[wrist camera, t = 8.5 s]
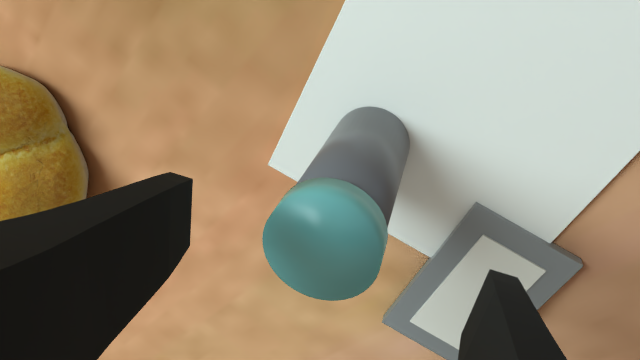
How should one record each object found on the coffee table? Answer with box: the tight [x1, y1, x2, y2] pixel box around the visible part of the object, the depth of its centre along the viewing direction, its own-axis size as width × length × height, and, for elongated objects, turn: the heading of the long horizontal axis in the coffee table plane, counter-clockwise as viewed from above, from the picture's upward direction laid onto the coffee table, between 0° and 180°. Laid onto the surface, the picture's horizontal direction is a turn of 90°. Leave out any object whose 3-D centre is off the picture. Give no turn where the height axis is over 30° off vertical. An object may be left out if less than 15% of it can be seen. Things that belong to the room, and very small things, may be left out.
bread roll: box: [0, 66, 88, 221], centre depth 25 cm, size 8×9×4 cm
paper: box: [268, 0, 640, 258], centre depth 19 cm, size 12×14×1 cm
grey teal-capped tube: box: [263, 106, 410, 301], centre depth 17 cm, size 3×3×8 cm
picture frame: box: [382, 202, 583, 360], centre depth 22 cm, size 5×8×1 cm, turn 154°
